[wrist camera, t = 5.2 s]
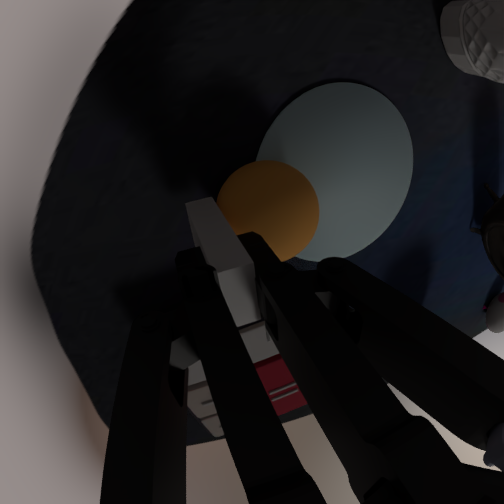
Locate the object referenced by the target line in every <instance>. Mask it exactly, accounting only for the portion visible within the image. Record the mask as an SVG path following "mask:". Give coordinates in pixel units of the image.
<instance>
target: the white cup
mask: <svg viewBox="0 0 504 504" xmlns="http://www.w3.org/2000/svg"><path fill="white" fill-rule="evenodd" d="M440 30H441V38H442V41H443V44H444V47H445V50H446V53H447V55H448V56H449V58H450V59H451V61H452V62H453V64H454V65H455V66H456V67H457V68H459V69H460V70H462V71H463V72H465V73H469V74H473V75H477V76H482V77H486V78H488V79H490V80H493V81H495V82H499V83H503V84H504V0H462V1H451V2H450V3H448V4H447V5H446V6H444V7H443V10H442V14H441V17H440Z"/></svg>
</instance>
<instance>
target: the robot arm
mask: <svg viewBox="0 0 504 504" xmlns="http://www.w3.org/2000/svg"><path fill="white" fill-rule="evenodd" d="M185 204H186V209H187V213H188V218H189V222H190V227H191V231H192V235H193V240H194V244H195V248H191V249H187V250H184V251H180V252H178V253H177V255H176V258H175V263H176V267H177V271H178V275H179V277H178V282H179V285H180V289H181V292H182V295H183V300H182V302H181V304H180V305H179V306H178V307H177V308H176V309H175V310H173V311H172V312H170V313H168V314H165V313H164V312H161V311H148V312H145V313H143V314H141V315H139V316H138V317H137V318H136V319H135V320H134V322H133V324H132V326H131V330H130V334H129V338H128V342H127V346H126V350H125V355H124V359H123V363H122V368H121V372H120V377H119V382H118V387H117V392H116V397H115V402H114V407H113V412H112V418H111V424H110V429H109V436H108V442H107V449H106V455H105V463H104V470H103V478H102V487H101V497H100V504H186V433H187V400H188V377H189V369H188V367H189V366H191V365H192V364H194V363H196V362H197V361H199V360H201V364H202V367H203V370H204V374H205V377H206V380H207V383H208V387H209V390H210V393H211V396H212V399H213V402H214V405H215V409H216V412H217V415H218V418H219V421H220V424H221V426H222V429H223V432H224V435H225V438H226V441H227V444H228V446H229V449H230V452H231V455H232V457H233V460H234V463H235V466H236V468H237V471H238V474H239V476H240V479H241V481H242V484H243V486H244V489H245V492H246V495H247V499H248V502H249V504H327V503H326V501H325V499H324V497H323V496H322V494H321V492H320V490H319V488H318V487H317V485H316V483H315V481H314V480H313V479H312V477H311V476H310V475H309V474H308V473H307V472H306V471H305V469H304V468H303V466H302V464H301V462H300V460H299V458H298V457H297V454H296V452H295V450H294V448H293V446H292V444H291V442H290V440H289V438H288V436H287V434H286V432H285V430H284V428H283V426H282V424H281V422H280V420H279V418H278V415H277V413H276V411H275V409H274V407H273V405H272V403H271V401H270V399H269V396H268V394H267V392H266V390H265V388H264V386H263V384H262V381H261V379H260V377H259V375H258V373H257V371H256V368H255V366H254V364H253V362H252V360H251V357H250V355H249V353H248V351H247V348H246V346H245V344H244V342H243V339H242V337H241V335H240V333H239V330H238V328H237V327H239V326H242V325H245V324H248V323H251V322H255V321H258V320H261V315H260V311H261V313H262V315H263V317H264V320H265V329H266V337H267V341H270V337H271V339H272V340H273V342H274V344H275V346H276V348H277V350H278V351H279V353H280V355H281V357H282V359H283V360H284V362H285V364H286V366H287V368H288V369H289V371H290V373H291V375H292V377H293V378H294V380H295V382H296V384H297V386H298V387H299V389H300V391H301V393H302V395H303V396H304V398H305V400H306V402H307V403H308V405H309V407H310V409H311V410H312V412H313V414H314V416H315V418H316V419H317V421H318V423H319V424H320V426H321V428H322V430H323V432H324V433H325V435H326V437H327V438H328V440H329V442H330V444H331V445H332V447H333V449H334V451H335V452H336V454H337V456H338V457H339V459H340V461H341V463H342V464H343V466H344V468H345V470H346V471H347V474H348V478H349V483H350V486H351V488H352V490H353V492H354V494H355V495H356V497H357V499H358V500H359V502H360V504H504V360H503V359H501V358H500V357H498V356H497V355H496V354H494V353H493V352H491V351H489V350H488V349H487V348H485V347H484V346H482V345H481V344H479V343H478V342H476V341H475V340H473V339H472V338H470V337H469V336H467V335H466V334H464V333H463V332H461V331H460V330H458V329H457V328H455V327H454V326H452V325H451V324H449V323H448V322H446V321H445V320H443V319H442V318H440V317H439V316H437V315H435V314H434V313H432V312H431V311H429V310H428V309H426V308H425V307H423V306H421V305H420V304H418V303H417V302H415V301H413V300H412V299H410V298H409V297H407V296H406V295H404V294H402V293H401V292H399V291H398V290H396V289H394V288H393V287H391V286H389V285H388V284H386V283H385V282H383V281H381V280H380V279H378V278H376V277H375V276H373V275H371V274H370V273H368V272H367V271H365V270H363V269H362V268H360V267H358V266H357V265H355V264H353V263H352V262H350V261H348V260H346V259H344V258H341V257H327V258H325V259H322V260H321V261H320V262H319V263H318V265H317V270H308V271H298V270H296V269H295V268H294V267H293V266H292V265H291V264H289V263H286V262H281V261H280V259H279V258H278V257H277V256H276V254H275V253H274V252H273V250H272V249H271V248H270V247H269V245H268V244H267V243H266V242H265V240H264V239H263V237H262V236H261V235H259V234H257V233H255V232H253V231H251V232H247V233H244V234H240V235H236V234H235V232H234V231H233V229H232V228H231V226H230V225H229V223H228V221H227V220H226V218H225V217H224V215H223V214H222V212H221V210H220V209H219V207H218V206H217V204H216V203H215V201H214V199H213V198H212V197H208V198H204V199H200V200H196V201H192V202H188V203H185ZM349 305H350V306H351V307H352V308H354V309H355V310H354V309H352V308H350V307H349ZM381 377H382V378H384V379H385V380H386V381H387V382H389V383H390V384H391V385H392V386H394V387H395V388H396V389H397V390H399V391H400V392H401V393H402V394H404V395H405V396H406V397H407V398H409V399H410V400H411V401H413V402H414V403H415V404H416V405H417V406H419V407H420V408H421V409H422V410H424V411H425V412H426V413H427V414H429V415H430V416H431V417H433V418H434V419H435V420H436V421H438V422H439V423H440V424H441V425H443V426H444V427H445V428H446V429H448V430H449V431H450V432H452V433H453V434H454V435H456V436H457V437H458V438H460V439H461V440H463V441H464V442H466V443H468V444H470V445H472V446H474V447H476V448H478V449H481V450H484V451H486V452H485V454H484V457H483V461H484V463H485V464H486V465H487V466H490V467H491V466H494V465H495V466H496V467H498V468H499V469H500V470H501V471H502V472H501V471H496V470H491V469H486V468H481V467H477V466H473V465H468V464H464V463H461V462H460V460H459V459H458V458H457V456H456V455H455V454H454V452H453V451H452V450H451V448H450V447H449V446H448V444H447V443H446V442H445V440H444V439H443V438H442V436H441V435H440V434H439V432H438V431H437V430H436V428H435V427H434V426H433V425H432V424H431V422H429V420H427V419H426V418H424V417H422V416H413V415H411V414H409V413H408V411H407V410H406V409H405V408H404V407H403V405H402V404H401V403H400V401H399V400H398V399H397V397H396V396H395V395H394V393H393V392H392V391H391V389H390V388H389V387H388V385H387V384H386V383H385V382H384V380H383V379H382V378H381Z"/></svg>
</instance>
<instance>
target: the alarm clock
mask: <svg viewBox="0 0 504 504" xmlns="http://www.w3.org/2000/svg"><path fill="white" fill-rule="evenodd" d="M484 188H485V189H487V191H488V193H489V195H490V196H491V198H492V200H493V201H494V204H493V206H492V207H491V208H490V209H489V210H488V211H487V212H486V213H485V215H484V217H483V220H482V225H481V229H478V228H471V229H470V231H471V232H475V233H478V234H480V235H481V236H482V241H483V245H484V248H485V251H486V253H487V256H488V258H489V260H490V262H491V264H492V265H493V267H494V268H495V270H496V271H497V273H498V274H499V275H500V277H501V278H502V279H503V280H504V194H503V195H502V197H501V198H498V196H497V195H496V194H495V193H494V192H493V190H492V189H490V188H489V185H488V184H487V183H484Z"/></svg>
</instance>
